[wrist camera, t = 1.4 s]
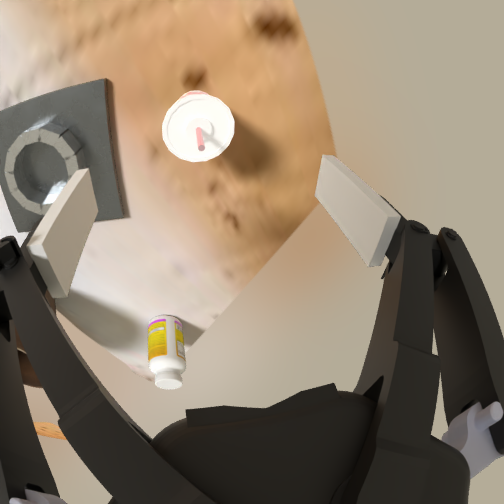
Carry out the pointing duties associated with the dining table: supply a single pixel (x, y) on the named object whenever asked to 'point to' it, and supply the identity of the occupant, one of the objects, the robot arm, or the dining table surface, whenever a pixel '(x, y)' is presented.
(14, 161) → the sleeve block
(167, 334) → the supplement bottle
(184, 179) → the dining table surface
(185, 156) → the beverage cup
